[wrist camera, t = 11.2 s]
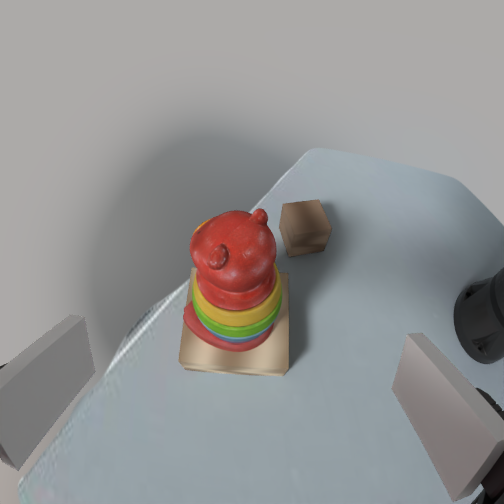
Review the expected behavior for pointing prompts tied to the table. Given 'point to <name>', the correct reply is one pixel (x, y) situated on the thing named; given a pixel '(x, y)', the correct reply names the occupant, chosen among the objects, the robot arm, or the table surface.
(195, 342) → the maple block
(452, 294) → the table surface
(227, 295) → the stacking bear
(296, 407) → the table surface
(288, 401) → the table surface
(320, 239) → the walnut cube
